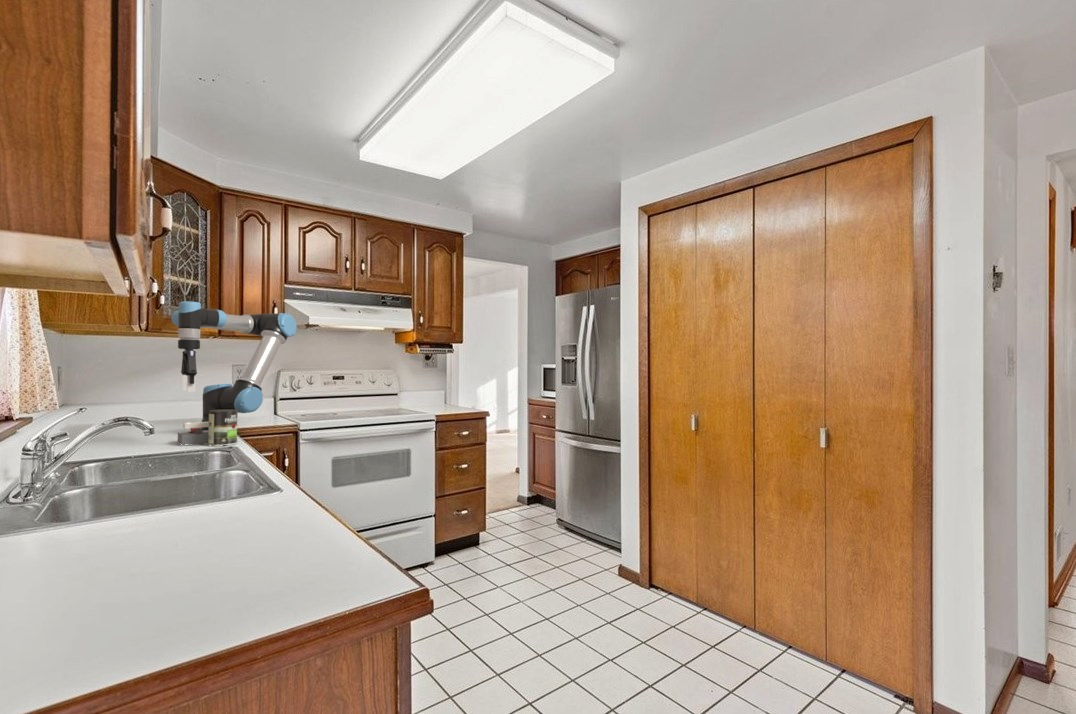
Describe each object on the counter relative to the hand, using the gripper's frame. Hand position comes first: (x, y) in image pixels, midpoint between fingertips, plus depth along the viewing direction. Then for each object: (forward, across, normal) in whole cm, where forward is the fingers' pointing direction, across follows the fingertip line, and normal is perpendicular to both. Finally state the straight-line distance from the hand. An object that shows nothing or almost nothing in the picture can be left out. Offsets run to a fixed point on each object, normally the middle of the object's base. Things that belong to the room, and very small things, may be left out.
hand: (188, 391), depth 214 cm
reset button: (+18, -6, +4) cm, 19 cm away
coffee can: (+22, +9, +11) cm, 26 cm away
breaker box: (+22, -3, +4) cm, 22 cm away
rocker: (+14, 0, +4) cm, 15 cm away
